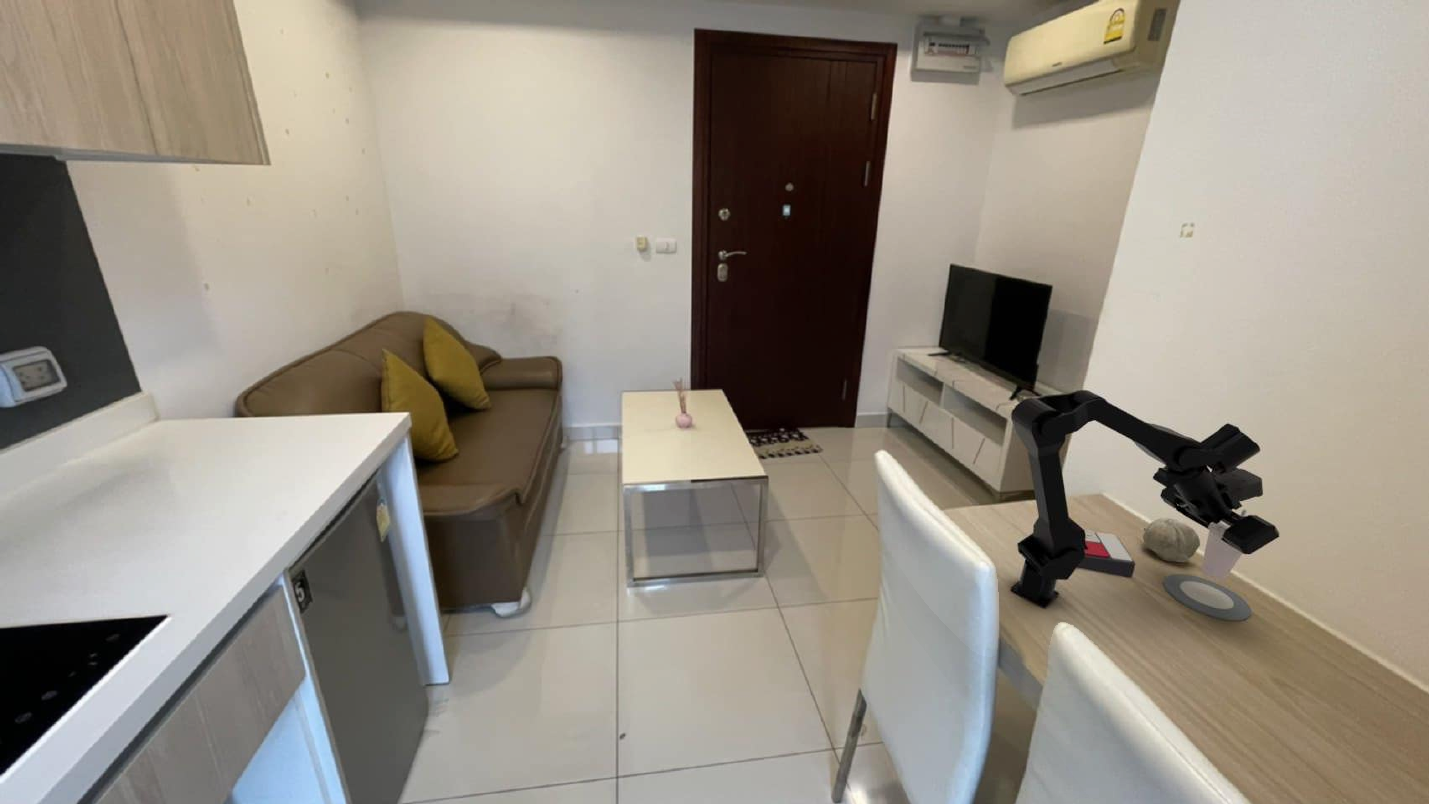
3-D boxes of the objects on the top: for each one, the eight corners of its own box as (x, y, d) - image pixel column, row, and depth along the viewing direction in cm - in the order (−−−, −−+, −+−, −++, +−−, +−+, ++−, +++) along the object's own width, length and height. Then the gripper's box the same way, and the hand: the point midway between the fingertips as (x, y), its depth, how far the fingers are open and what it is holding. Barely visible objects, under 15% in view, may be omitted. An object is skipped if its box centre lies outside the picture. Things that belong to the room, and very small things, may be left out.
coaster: (1241, 631, 100) (1243, 628, 100) (1154, 592, 110) (1155, 589, 109) (1256, 602, 108) (1258, 599, 108) (1173, 568, 118) (1174, 565, 117)
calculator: (1040, 521, 127) (1117, 532, 123) (1036, 538, 128) (1113, 549, 124) (1052, 548, 117) (1137, 560, 113) (1048, 566, 118) (1132, 579, 114)
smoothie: (1234, 589, 103) (1264, 523, 98) (1190, 573, 107) (1217, 508, 102) (1235, 574, 108) (1264, 509, 103) (1193, 559, 112) (1219, 496, 107)
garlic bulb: (1185, 574, 120) (1220, 545, 114) (1149, 567, 119) (1182, 538, 113) (1160, 539, 127) (1191, 509, 121) (1125, 532, 127) (1155, 502, 121)
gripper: (1291, 483, 90) (1329, 545, 94) (1195, 437, 108) (1230, 491, 112) (1225, 524, 93) (1265, 583, 97) (1142, 472, 110) (1178, 524, 114)
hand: (1234, 541), depth 105 cm, fingers closed on smoothie, 6 cm apart
